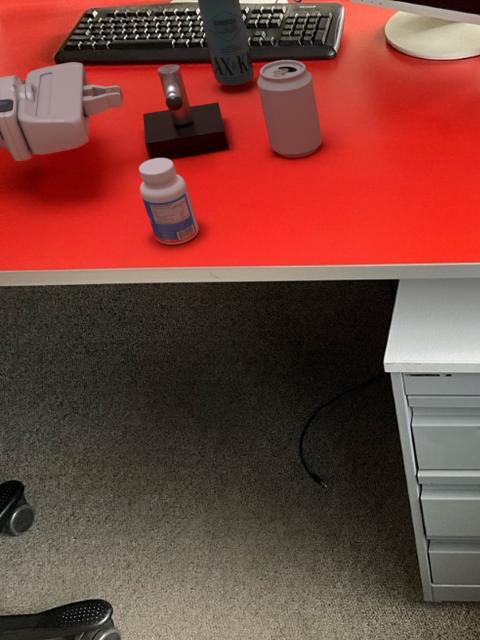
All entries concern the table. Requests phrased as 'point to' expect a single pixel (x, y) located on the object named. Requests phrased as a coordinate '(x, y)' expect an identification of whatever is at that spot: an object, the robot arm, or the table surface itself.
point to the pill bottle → (167, 202)
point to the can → (289, 108)
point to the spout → (175, 94)
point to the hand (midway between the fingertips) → (121, 95)
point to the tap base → (185, 133)
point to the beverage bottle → (227, 41)
